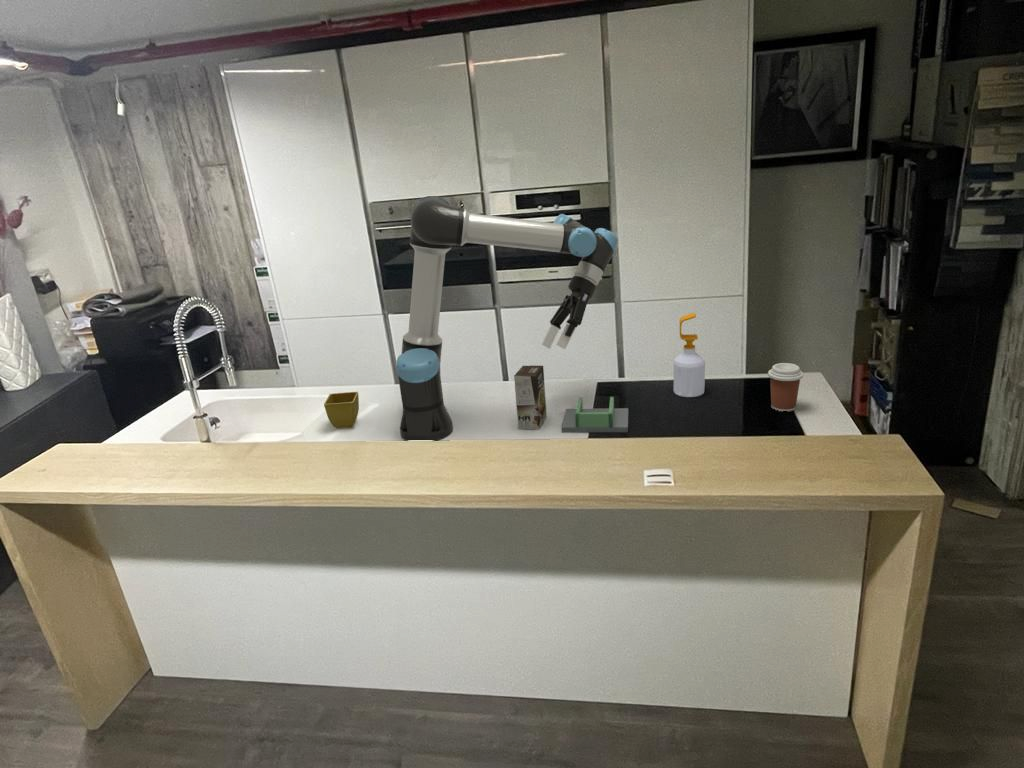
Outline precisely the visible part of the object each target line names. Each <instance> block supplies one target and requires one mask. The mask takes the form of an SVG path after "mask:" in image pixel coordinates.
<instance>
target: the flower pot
mask: <svg viewBox="0 0 1024 768" xmlns="http://www.w3.org/2000/svg"><path fill="white" fill-rule="evenodd" d="M359 400H360V399H359V391H346V392H337V393H336V392H335V393H329V395H328V396H327V398H326V400H325V401H324V403H323V407H324V409H325V413H326V415H327V419H328V421H329V422H330V424H331V425H332V426H333V427H334V428H335V429H347V428H348V429H349V428H353V427H354V425H355V423H356V421H357V418H358V415H359V410H360V409H359V406H360V403H359V402H360V401H359Z"/></svg>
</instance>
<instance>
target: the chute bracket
mask: <svg viewBox="0 0 1024 768" xmlns="http://www.w3.org/2000/svg"><path fill="white" fill-rule="evenodd" d="M583 405H584V404H583V397H582V396H580V397H578V400H577V405H576V408H565V411H564V415H563V419H562V425H561V433H629V408H627V407H624V408H623V407H622V408H621V407H619V408H617V407H616V408H615V397H614V396H609V405H608V406H609V407H608V408H607V407H606V408H601V407H600V408H584V406H583Z"/></svg>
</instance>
